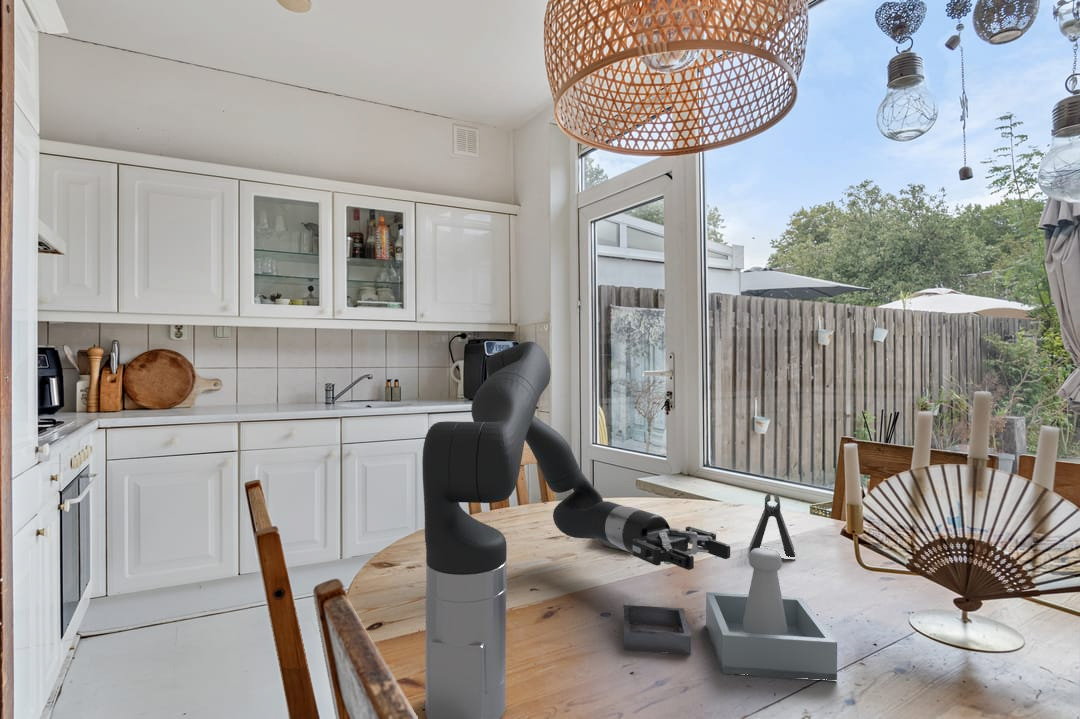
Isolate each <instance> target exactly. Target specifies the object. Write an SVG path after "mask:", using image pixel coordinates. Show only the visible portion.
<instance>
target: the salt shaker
mask: <svg viewBox="0 0 1080 719" xmlns="http://www.w3.org/2000/svg"><path fill="white" fill-rule="evenodd" d="M748 562H749V566H750V567H752V568H753V572H752V575H751V576H752V577H751V581H750V586H749V591H748V599H747V604H746V609H745V613H744V618H743V626H744V630H745V632H746V633H752V634H768V635H784V636H786V634H787V624H786V618H785V613H784V607H783V601H782V591H781V585H780V579H779V574H778V571H780V570H781V568H782V567H783V566H782V564H783V559H781V556H780V554H779V553H778V552H777V551H775V550H772V549H768V548H755V549H753V550H752V551H750V553H749V552H748Z"/></svg>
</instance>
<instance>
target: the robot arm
mask: <svg viewBox="0 0 1080 719" xmlns="http://www.w3.org/2000/svg"><path fill="white" fill-rule="evenodd" d="M551 372H552V370H551V364H550V360H549V356H548V355H547V353H546V351H545V350H544V348H543V347H542V346H541V345H539V344H538V343H537V342H534V341H524V342H522V343H518V344H515V345H513V346H511V347H507V348H505V349H503V350H500V351H498V352H495V353H493V354H490V356H488V358H487V359H486V373H487V378H486V379H485V380H484V381H483V382H482V384H481V385H480V387H479V388H478V390H477V391H476V393H475V395H474V397H473V399H472V403H471V407H470V408H471V417H472V420H473V421H454V420H453V421H451V420H450V421H438V422H436V423H434V424H432V425H431V426H430V428H429V429H428V430H427V432H426V434H425V438H424V442H423V448H422V463H421V464H422V485H423V487H422V488H423V504H424V505H423V506H424V507H423V509H424V541H425V549H426V550H425V551H426V552H425V553H426V555H425V557H426V558H425V559H426V560H425V562H426V566H425V567H426V569H425V570H426V571H425V572H426V576H425V579H426V580H425V583H426V584H425V585H426V586H425V665H424V666H425V667H424V668H425V669H424V670H425V671H424V672H425V678H424V679H425V681H424V682H425V685H424V686H425V687H424V688H425V689H424V690H425V691H424V692H425V695H424V696H425V697H424V698H425V699H424V700H425V702H424V704H425V709H424V710H425V711H424V712H425V713H424V714H425V717H426V719H501V718H502V717H503V715H504V714H505V711H506V700H507V699H506V695H507V694H506V693H507V692H506V689H507V688H506V686H507V684H506V683H507V682H506V681H507V671H506V669H507V668H506V666H507V663H506V662H507V661H506V660H507V658H506V657H507V654H506V653H507V558H508V557H507V552H508V551H507V549H508V545H507V540H506V537H505V535H504V533H502V532H501V531H500V530H498V529H497V528H495V527H493V526H491V525H489V524H486V523H483V522H481V521H480V520H478V519H476V518H474V517H473V516H471V514H468V513H467V511H465V510H464V509H463V508H462V506H461V504H460V503H468V504H469V503H470V504H472V503H473V504H474V503H475V504H493V503H494V504H495V503H500V502H504V501H507V499H509V498H510V496H512V494H513V492H514V490H515V489H516V487H517V483H518V479H519V476H520V471H521V466H522V465H521V464H522V459H523V454H524V453H523V452H524V447H525V443H526V444H527V445H528V447H529V449H530V451H531V453H532V454H533V457H534V458H535V460H536V463H537V464H538V467H539V469H540V471H541V473H542V476H543V478H544V480H545V482H546V484H547V486H548V488H549V489H550V490H551V492H554V493H557V494H562V493H566V492H568V491H571V490H573V491H572V493H570V494H569V495H568V496H566V497H565V498H564V499H563V500H561V501H560V502H559V503H558V504H557V505H556V506H555V508H554V509H553V512H552V518H553V522H554V525H555V527H556V528H557V529H558V530H559V531H560V532H561V534H562V533H563V534H564V535H565V536H568V537H571V538H575V539H589V540H591V539H592V540H596V539H598V538H600V539H602V540H605V541H607V542H610V543H612V544H614V545H616V546H617V547H619V548H621V549H623V550H622V551H626V552H629V553H630V554H632V556H634V557H635V558H637V559H640V560H642V561H645V562H647V563H648V564H651V565H653V566H661V564H662V563H664V564H665V565H675V566H677V567H679V568H682V569H684V570H687V571H690V570H693V569H694V567H695V566H694V563H695V562H694V561H695V558H694V555H697V553H705V554H709V555H712V556H715V557H718V558H721V559H723V560H727V559H728V560H729V559H730V558H731V545H730V544H728V543H725V542H721V541H718V540H717V534H716V533H714V532H710V531H705V530H703V529H699V528H696V527H691V526H690V525H689V526H685V530H681V529H680V528H676V527H675V528H674V527H670V525H669V523H668V521H667V520H666V519H665V517H663V516H661V515H659V514H656V513H653V512H648V511H645V510H642V509H639V508H636V507H632V506H625V505H622V504H619V503H615V502H612V501H606V500H604V499H603V497H602V495H601V494H600V493H599V491H598V490H597V489H596V487H594V486H593V485H592V484H591V482H590V481H589V480H588V479H587V477H586V476H585V474H584V473H583V471H582V470H581V469H580V467H579V464H578V461H577V460H576V457H575V455H574V452H573V450H572V448H571V446H570V445H569V443H568V441H567V440H566V439H565V438H564V436H563V435H562V434H561V433H559V432H558V431H557V430H555V429H554V428H552V427H551V426H550V425H548V424H547V423H545V422H544V421H543V420H541V419H540V418H538V417H537V416H536V415H535V413H536V410H537V406H538V402H539V400H540V397H541V395H542V394H543V392H544V391H545V389H547V387H549V386H548V385H549V384H550V381H551V376H552V375H551ZM600 539H598V540H600ZM689 545H691V546H692V547H691V548H689ZM621 549H620V550H621Z"/></svg>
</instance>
